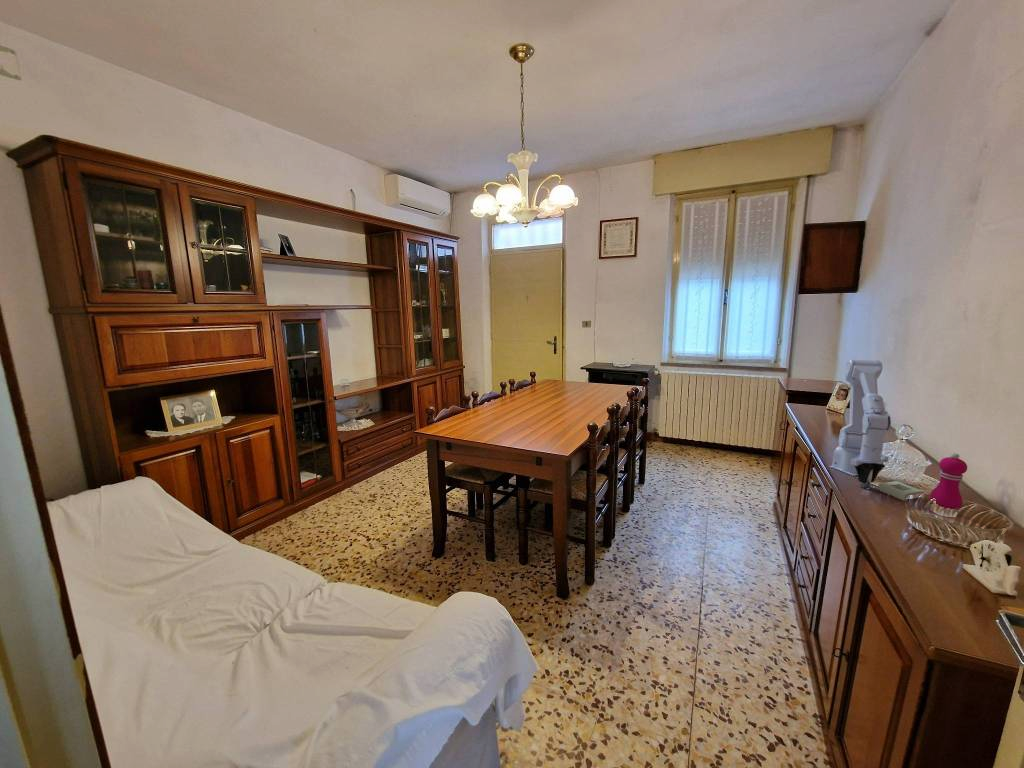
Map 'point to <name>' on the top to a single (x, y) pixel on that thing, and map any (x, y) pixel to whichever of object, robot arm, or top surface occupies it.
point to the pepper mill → (949, 482)
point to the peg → (868, 480)
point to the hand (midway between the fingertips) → (865, 481)
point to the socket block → (899, 490)
